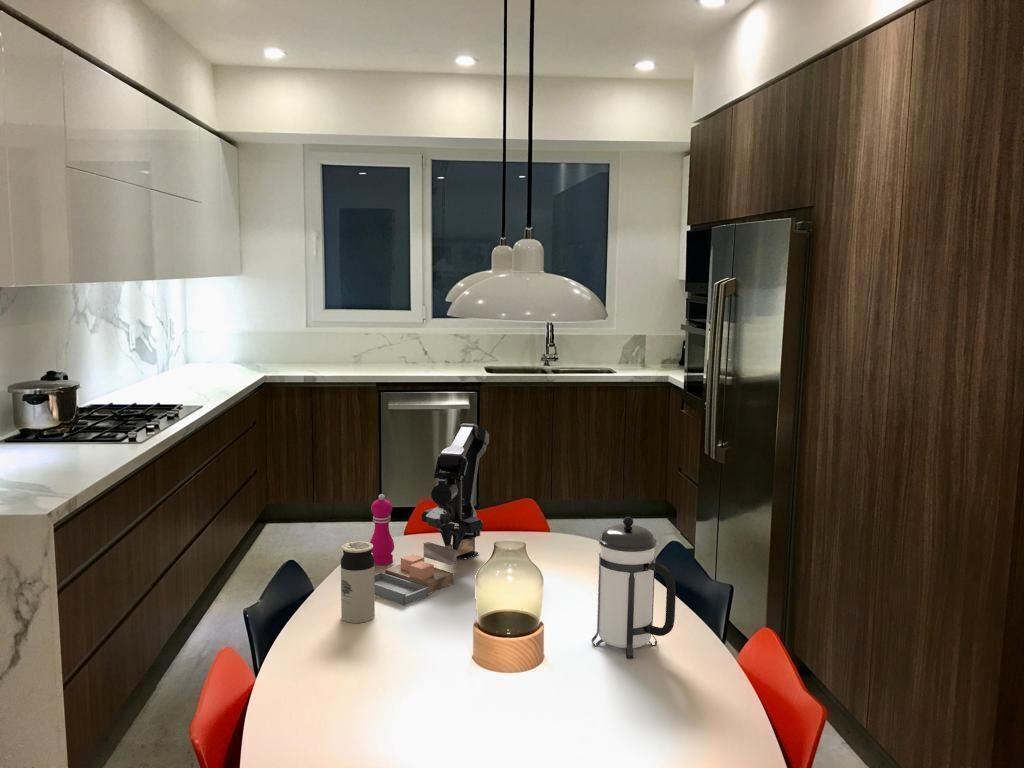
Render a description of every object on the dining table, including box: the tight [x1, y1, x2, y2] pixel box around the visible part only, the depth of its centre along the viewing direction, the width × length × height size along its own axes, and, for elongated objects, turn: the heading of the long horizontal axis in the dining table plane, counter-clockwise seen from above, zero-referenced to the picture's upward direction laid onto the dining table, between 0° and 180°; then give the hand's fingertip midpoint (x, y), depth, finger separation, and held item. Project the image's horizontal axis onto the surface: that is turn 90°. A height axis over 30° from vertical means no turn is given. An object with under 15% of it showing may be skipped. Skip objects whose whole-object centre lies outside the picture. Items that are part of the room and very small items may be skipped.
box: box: [374, 571, 430, 607], centre depth 228 cm, size 9×18×3 cm, turn 51°
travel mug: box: [340, 541, 376, 624], centre depth 210 cm, size 8×8×18 cm
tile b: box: [410, 561, 435, 580], centre depth 232 cm, size 4×4×3 cm
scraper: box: [423, 539, 473, 566], centre depth 246 cm, size 14×11×4 cm
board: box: [384, 563, 454, 594], centre depth 236 cm, size 10×16×3 cm, turn 51°
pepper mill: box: [369, 493, 395, 566], centre depth 251 cm, size 7×7×20 cm
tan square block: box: [400, 553, 425, 571], centre depth 238 cm, size 4×4×3 cm
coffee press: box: [591, 516, 677, 659], centre depth 196 cm, size 17×16×30 cm
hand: (451, 549), depth 246 cm, fingers closed on scraper, 2 cm apart
